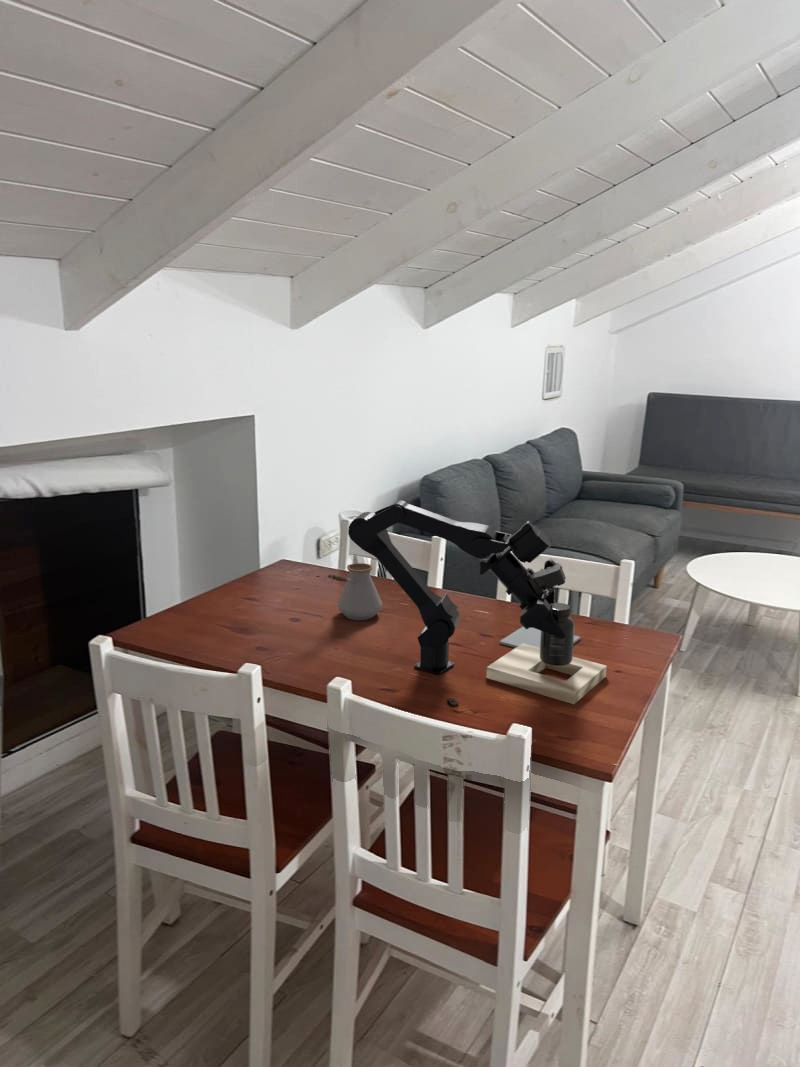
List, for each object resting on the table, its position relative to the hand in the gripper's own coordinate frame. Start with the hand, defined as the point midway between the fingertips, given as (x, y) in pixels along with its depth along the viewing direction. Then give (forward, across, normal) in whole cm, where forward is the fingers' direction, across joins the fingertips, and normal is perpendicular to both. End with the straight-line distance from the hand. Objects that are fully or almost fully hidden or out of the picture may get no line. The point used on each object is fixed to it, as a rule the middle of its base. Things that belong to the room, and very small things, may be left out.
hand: (564, 631), depth 167 cm
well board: (+6, +1, +10) cm, 12 cm away
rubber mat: (+4, +20, +12) cm, 24 cm away
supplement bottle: (+4, 0, +6) cm, 7 cm away
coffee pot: (-29, +22, +46) cm, 58 cm away
